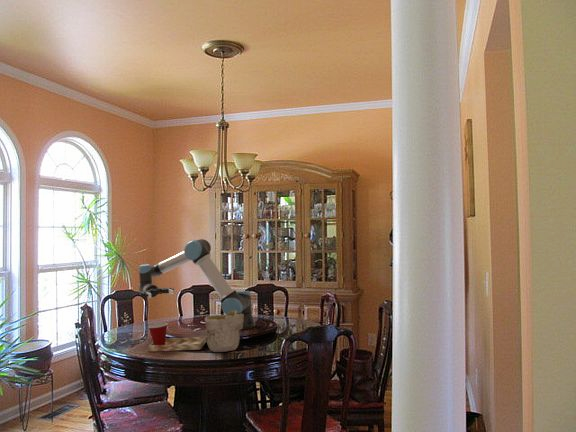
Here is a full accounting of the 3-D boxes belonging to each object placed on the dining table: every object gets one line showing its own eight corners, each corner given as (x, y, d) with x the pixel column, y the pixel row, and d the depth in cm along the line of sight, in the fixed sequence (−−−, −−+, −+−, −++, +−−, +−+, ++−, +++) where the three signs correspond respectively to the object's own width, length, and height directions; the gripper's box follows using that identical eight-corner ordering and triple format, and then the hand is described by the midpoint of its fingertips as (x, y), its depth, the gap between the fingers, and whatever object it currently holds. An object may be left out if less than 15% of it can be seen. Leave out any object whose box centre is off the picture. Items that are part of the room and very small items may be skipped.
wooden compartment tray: (206, 342, 283) (206, 336, 283) (200, 349, 268) (199, 344, 268) (157, 344, 285) (156, 338, 285) (148, 351, 270) (148, 346, 270)
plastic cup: (172, 341, 281) (170, 321, 281) (166, 347, 270) (163, 326, 270) (154, 343, 282) (152, 322, 282) (147, 349, 272) (144, 327, 271)
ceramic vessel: (185, 333, 271) (211, 295, 277) (220, 355, 278) (244, 317, 285) (195, 342, 250) (222, 300, 257) (232, 365, 258) (258, 323, 264)
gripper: (170, 293, 316) (182, 297, 298) (131, 299, 302) (141, 303, 284) (169, 282, 316) (181, 285, 298) (130, 287, 302) (140, 290, 284)
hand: (162, 294), depth 291 cm, fingers open, 13 cm apart
